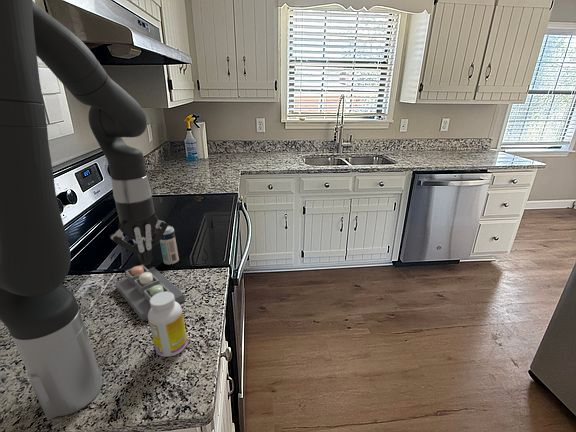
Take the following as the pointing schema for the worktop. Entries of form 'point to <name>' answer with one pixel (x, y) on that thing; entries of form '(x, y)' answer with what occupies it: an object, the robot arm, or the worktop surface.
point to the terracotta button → (137, 270)
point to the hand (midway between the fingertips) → (146, 263)
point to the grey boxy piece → (144, 291)
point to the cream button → (145, 278)
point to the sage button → (156, 290)
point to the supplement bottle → (167, 324)
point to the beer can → (169, 246)
